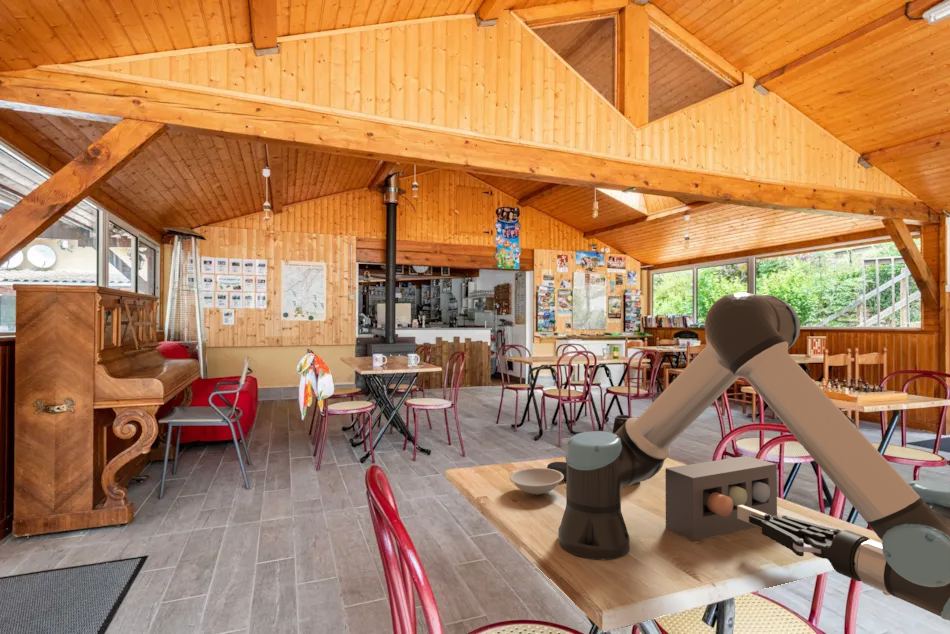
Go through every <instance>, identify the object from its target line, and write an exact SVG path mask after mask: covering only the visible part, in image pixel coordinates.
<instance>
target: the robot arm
mask: <svg viewBox="0 0 950 634" xmlns="http://www.w3.org/2000/svg"><path fill="white" fill-rule="evenodd" d="M706 313H707V314H706V315H705V320H704V333H705V341H706V343H705V344H706V345H705V347H704V348H703V349H702V350H700V352H699V353H698V354H697V355H696V356H695V357H694V358H693V359H692V360H691V362H689V364H688V365H686V366H685V368H684V369H683V370H682V371H681V372H680V373H679V375H677V376H676V377H675V379H673V380H672V382H671V383H670V384H669V385H668V386H667V387H666V388H665V389H664V390H663V391H662V392H661V393H660V394H659V396H658V397H657V398H656V399H655V400H654V401H652V403H651V404H650V405H649V406H648V407H647V409H645V411H643V413H642V414H641V415H640V416H638V417H639V418H637V417H636V418H635V416H631V417H632V418H629V419H628V420H627V421H626V422H625V423H624V424H623V425H622V426H621V427H620V428H619V430H618V431H617V432H616V433H614V434H613V433H612V432H610V431H605V430H592V431H584V432H583V431H581V432H579V433H576V434H574V435H573V436H571V437H570V438H569V439H568V441H567V444H566V453H565V462H566V481H565V486H566V487H565V489H566V492H565V493H566V494H565V495H566V498H565V499H566V500H565V501H566V502H565V503H566V504H565V507H564V508H565V509H564V511H563V515H562V518H561V523H560V524H559V527H558V530H557V531H558V532H557V533H558V536H557V537H558V539H557V540H558V543H559V545H560V546H561V548H563V549H564V550H565V551H567V552H569V553H571V554H573V555H575V556H578V557H581V558H587V559H593V560H611V559H612V560H613V559H618V558H621V557H624V556H625V555H627V554H628V552H629V550H630V545H631V544H630V535H629V531H628V530H627V529H628V528H627V525H626V522H625V519H624V515H623V513H622V504H621V503H622V489H624V488H626V487H629V486H631V485H635V484H634V483H637V482H638V483H639V482H645V481H647V480H650V479H652V478H653V477H654V476H656V475H657V474H658V473H659V472H660V471H661V469H662V468H663V465H664V464H665V460H666V459H668V457H669V456H670V453H671V450H670V445H671V444H672V443H673V442H674V441H675V440H676V439H678V437H679V436H681V434H683V432H685V431H686V429H687V428H689V427H690V426H691V425H692V424H693V423H694V422H695V421H697V420H696V419H698V418H699V417H700V416H701V415H702V414H703V413H704V412H705V411H707V409H708V408H709V407H710V406H711V405H712V404H713V403H714V402H715V401H716V400H717V399H718V398H719V397H721V395H722V394H724V392H726V391H727V390H728V389H729V388H730V387H731V386H732V385H733V384H734V383H735V382H736V381H737V380H738V379H739V378H740V379H745V380H746V381H747V382H748V383H749V384H750V385H751V386H752V388H753V389H754V390H755V391H756V392H757V394H758V395H759V396H760V397H761V399H762V400H763V401H764V402H765V403H766V405H768V407H769V408H770V410H771V411H773V413H774V414H775V415H776V416H777V418H778V419H779V420H780V421H781V422H782V423H783V425H784V426H785V427H786V428H787V429H788V430H789V432H790V433H791V434H792V435H793V437H794V438H795V440H797V442H798V443H799V444H800V445H801V446H802V447H803V449H804V450H805V451H806V452H807V453H808V454H809V455H810V457H811V458H812V459H813V460H814V462H815V463H816V464H817V465H818V467H820V469H821V470H822V471H823V473H824V474H825V475H826V476H827V477H828V479H830V480H831V482H832V483H833V484H834V486H836V488H837V489H838V490H839V491H840V492H841V493H842V495H843V496H844V497H845V498H846V499H847V501H848V502H849V503H850V504H851V505H852V507H853V508H854V509H855V510H856V512H857V513H859V515H860V516H861V518H862V519H863V520H864V521H865V522H866V524H868V526H869V527H870V528H871V530H873V532H874V533H875V534H876V535H877V537H878V538H879V539H880V540H877V539H874V538H869V537H867V536H865V535H862V534H859V533H857V532H853V531H851V530H847V529H845V530H841V529H839V528H834V527H828V526H827V527H826V526H824V525H821V524H817V523H813V522H810V521H806V520H802V519H799V518H796V517H792V516H788V515H786V514H785V515H784V514H783V515H781V516H779V515H777V516H773V517H772V516H771V515H769V514H766V513H763V512H761V511H758V510H755V509H752V508H750V507H747V506H744V505H738V506H737V518H738V519H740V520H743V521H745V522H748V523H750V524H753V525H755V526H756V527H757V528H760V529H761V535H763V536H765V537H766V538H769V539H770V540H772V541H774V542H775V543H778V544H779V545H782V546H783V547H784V548H787V549H789V550H790V551H792V552H793V553H794V554H795V555H796V556H798V557H804V556H805V554H804V553H811V554H812V555H813V556H815V557H817V558H821V559H825V560H828V562H829V563H830V564H831V566H832V569H833V570H834V571H835V572H836V573H838V574H840V575H842V576H845V577H847V578H850V579H852V580H854V581H857V582H862V583H863V584H865V585H867V586H870V587H871V588H874V589H876V590H878V591H881V592H882V594H884V596H892V597H894V598H897V599H899V600H902V601H904V602H907V603H909V604H911V605H914V606H915V607H918V608H921V609H923V610H925V611H926V612H929V613H932V614H934V615H936V616H938V617H940V618H942V619H943V620H945V621H950V483H945V482H940V481H934V480H924V479H923V480H919V479H918V480H911V481H908V482H907V481H906V480H905V478H904V477H902V475H901V474H900V473H899V472H898V471H897V470H896V469H895V468H894V467H893V465H892V464H890V462H889V461H888V460H887V459H886V458H885V457H884V455H882V454H881V453H880V451H878V449H877V448H876V447H875V446H874V445H873V444H872V443H871V441H870V440H869V439H868V438H867V437H866V436H865V435H864V434H863V433H862V432H861V430H859V428H858V427H857V426H856V425H855V424H854V423H853V422H852V421H851V419H849V417H848V416H847V415H846V414H844V412H843V411H842V410H841V409H840V408H839V407H838V405H836V403H834V401H833V400H832V399H831V398H830V397H829V396H828V395H827V394H826V393H825V392H824V390H823V389H822V388H821V387H819V385H818V384H817V383H816V382H815V381H814V380H813V379H812V378H811V377H810V376H809V375H808V373H807V372H806V371H805V370H804V369H803V367H802V366H800V364H798V363H797V361H796V360H795V359H794V358H793V357H792V355H790V353H789V351H788V350H789V349H790V348H791V347H792V346H793V345H794V344H795V343H796V342H797V340H798V338H799V337H800V332H801V322H800V318H799V316H798V313H797V312H796V309H794V307H793V306H791V304H790V303H788V301H785V300H783V299H781V298H778V296H773V295H772V294H771V295H770V294H765V293H764V294H754V293H749V292H734V293H729V294H726V295H723V296H722V297H720V298H719V299H718V300H716V301H715V302H713V304H712V305H711V306H710V308H709V309H708V311H707V312H706Z"/></svg>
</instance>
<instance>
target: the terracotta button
mask: <svg viewBox="0 0 950 634" xmlns="http://www.w3.org/2000/svg"><path fill="white" fill-rule="evenodd" d="M703 504H705V505H707V506H708V508H709V510H710V511H711V512H714V513H716V514H719V515H721V516H723V517H727V516H729V515H730V514H731V512H732V510H733V501H732V499H731V498H730V497H728V496H725V495H722V494H720V493H717V492H714V493H712V494H708V493H703Z"/></svg>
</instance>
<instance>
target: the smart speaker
mask: <svg viewBox="0 0 950 634" xmlns="http://www.w3.org/2000/svg"><path fill="white" fill-rule="evenodd" d="M546 468H548V469H553V470H557V471H559V472H561V473H562V474H563V475H564V479H563V480H566V461H554V462H550V463H548V464H547V467H546Z"/></svg>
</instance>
